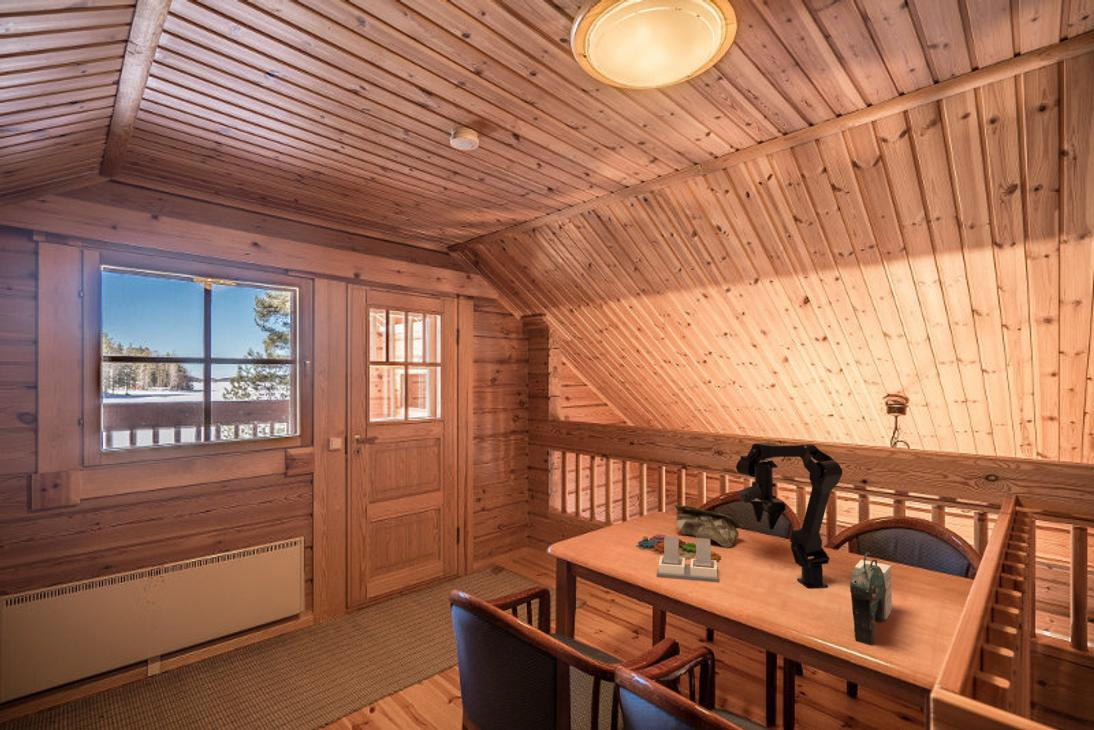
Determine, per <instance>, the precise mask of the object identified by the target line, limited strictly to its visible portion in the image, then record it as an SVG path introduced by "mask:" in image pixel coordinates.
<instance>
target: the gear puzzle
mask: <svg viewBox="0 0 1094 730" xmlns="http://www.w3.org/2000/svg"><path fill="white" fill-rule="evenodd" d="M665 536H666V535H664V534H660V533H658V534H655V535H653V536H652V537H648V536H647V535H643V537H642V539H641V540H640V541H638V542H637V544H636V545H635V547H636V548H638V550H640V551H649V552H650V551H651V552H652V553H654V554H655V555H657V556H659V555H660V556H664V538H665ZM695 557H696V543H694V542H686V541H683V540H682V539H680V538H679V558H685V561H688V560H690V561H691V559H695ZM720 559H722V556H721V554H719V553H716V552H715V550H714V551H713V550H711V560H716V561H719V560H720Z"/></svg>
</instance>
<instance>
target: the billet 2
mask: <svg viewBox="0 0 1094 730" xmlns="http://www.w3.org/2000/svg"><path fill="white" fill-rule="evenodd" d="M695 544H696V555H695V557H696V558H695V559H696V567H705V568H711V551H712V549H711V548H712V547H711V545H712V544H711V539H703V538H696V537H695Z"/></svg>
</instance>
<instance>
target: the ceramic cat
mask: <svg viewBox="0 0 1094 730" xmlns="http://www.w3.org/2000/svg"><path fill="white" fill-rule="evenodd" d="M870 555H871V553H870V552H865V554H864V556H863V560H864V565H863V566H862V567H861V568H860V569H855V568H853V569H852V571H851V575H850V580H849V581H850V582H849V589H850V597H851V598H850V600H851V609H852V610H851V611H852V616H853V617H852V618H853V626H854V627H853V633H854V638H855V641H856V642H859V643H862V644H866V645H870V646H871V645H872V644H873V642H874V641H875V639H874V638H875V621H876V622H883V621H884V607H885V595H886V587H885V581H884V576H883V572H882V570H881V568H880V567H879V566H877V563H878V561H877V559H876V558H873V559H872V560H871V563H870V564H865V561H866V560H867V556H868V558H869V557H870ZM873 562H875V565H872V564H873Z"/></svg>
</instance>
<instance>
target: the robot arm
mask: <svg viewBox="0 0 1094 730" xmlns="http://www.w3.org/2000/svg"><path fill="white" fill-rule="evenodd" d="M777 458H800V459H801V460H802V463H803V466H804V468H805V469H806V471H807V472H808V473H809V476H808V477H809V481H810V484H811V491H810V494H809V498H808V499H809V500H808V503H807V507H806V510H805V514H804V518H803V521H802V526H801V528H800V529H795V530H793V531H792V533H791V539H790V540H789V542H790V549H791V553H792V556H793V558H794V563H795V564H796V565H798V566H799V567H801V577H797V578H796V580H797V582H799V583H800V584H801V585H803V586H804V587H806V588H807V589H813V588H828V587H829V585H828V584H827V583H825V582H824V580H823V579H824V578H823V577H824V576H823V574H824V571H823V569H824V568H823V565H827V564H829V561H830V556H829V555H828V554H827V553H826V551H825V549H824V548H823V540H822V536H821V533H820V531H821V528H822V525H823V520H824V516H825V513H826V510H827V506H828V502H829V498H830V496H831V495H830V494H831V492H832V490H833V489H834V488H835V487H836V486H837V485H838V484H839V482H840V480H841V478H842V475H843V469H842V467H841V465H840V463H838V461H836V460H834V458H833V457H831V456H830V455H828V454H827V453H825V452H823V451H822V450H820V449H819V448H818V447H817V445H815V444H813V443H805V444H804V443H803V444H784V445H782V444H777V443H775V442H770V441H769V442H767V441H766V442H758V443H756V442H755V443H753V444H752V446H751V448H750V449H749V452H748V454H747V455H740V459H739V460H738V461H737V463H736V465H735V469H736V471H737V473H738V474H739V475H743V476H746V477H750V478H754V481H752V482H751V486H749V487H745V488H743V489H740V490H738V491H737V494H738V497H739V499H740V501H741V502H743V503H744V504H749V505H751V507H752V510H753V513H754V516H755V519H756V522H757V523H760V522H761V521H762V518H763V516H764V515H763V514H764V512H765V513H766V516H767V521H768V522H767V523H768V528H769V531H770V530H772V531H773V530H775V529H774V528H775V527H776V525H777V523H778V520H779V519H780V517H781V516H782V514H783V513H784V512H785V511H787V504H786V503H785V502H784V501H783V500H780V499H776V495H775V494H774V488H776V483H775V482H774V478H773V476H774V475H773V474H774V472H773V471H774V470H773V469H777V468H778V465H777V464H776V463H775V462H774V460H773V459H777Z"/></svg>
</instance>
